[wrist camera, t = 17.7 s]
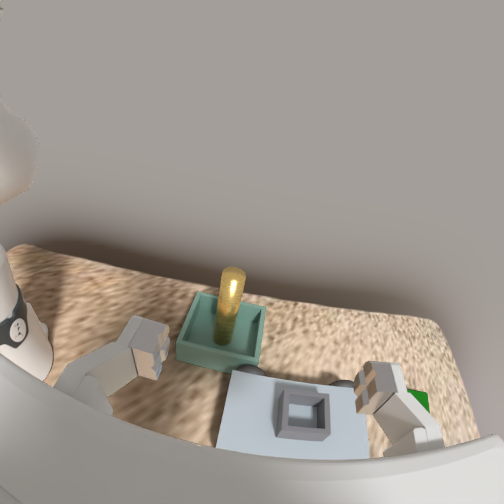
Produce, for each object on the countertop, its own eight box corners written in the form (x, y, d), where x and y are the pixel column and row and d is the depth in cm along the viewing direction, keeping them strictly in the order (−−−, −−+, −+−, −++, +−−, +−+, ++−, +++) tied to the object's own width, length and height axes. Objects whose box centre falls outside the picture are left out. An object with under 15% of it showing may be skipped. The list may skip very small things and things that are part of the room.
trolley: (211, 465, 30) (215, 452, 26) (230, 378, 44) (236, 352, 40) (355, 476, 30) (381, 463, 26) (350, 395, 44) (369, 373, 40)
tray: (176, 359, 45) (175, 342, 42) (196, 309, 56) (197, 291, 54) (252, 378, 45) (258, 362, 42) (260, 324, 56) (266, 306, 54)
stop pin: (210, 342, 49) (220, 278, 41) (214, 328, 52) (225, 264, 44) (230, 347, 49) (244, 283, 41) (233, 333, 52) (247, 270, 44)
